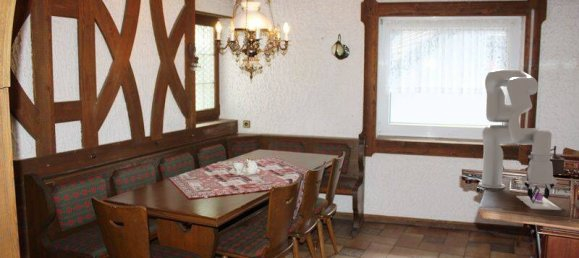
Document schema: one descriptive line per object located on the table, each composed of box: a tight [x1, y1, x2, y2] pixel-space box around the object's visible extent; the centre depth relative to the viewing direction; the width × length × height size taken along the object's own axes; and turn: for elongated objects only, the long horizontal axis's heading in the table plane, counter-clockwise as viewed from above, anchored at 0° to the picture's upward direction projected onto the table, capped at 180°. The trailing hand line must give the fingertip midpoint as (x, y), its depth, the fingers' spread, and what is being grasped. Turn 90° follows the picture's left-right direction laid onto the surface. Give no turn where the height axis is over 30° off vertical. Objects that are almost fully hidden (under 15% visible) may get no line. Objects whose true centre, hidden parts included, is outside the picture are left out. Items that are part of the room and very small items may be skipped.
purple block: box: [530, 185, 544, 203], centre depth 240 cm, size 7×5×9 cm
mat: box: [516, 195, 562, 211], centre depth 239 cm, size 22×12×1 cm, turn 173°
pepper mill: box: [550, 145, 565, 175], centre depth 309 cm, size 16×11×18 cm
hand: (538, 197), depth 239 cm, fingers open, 6 cm apart
